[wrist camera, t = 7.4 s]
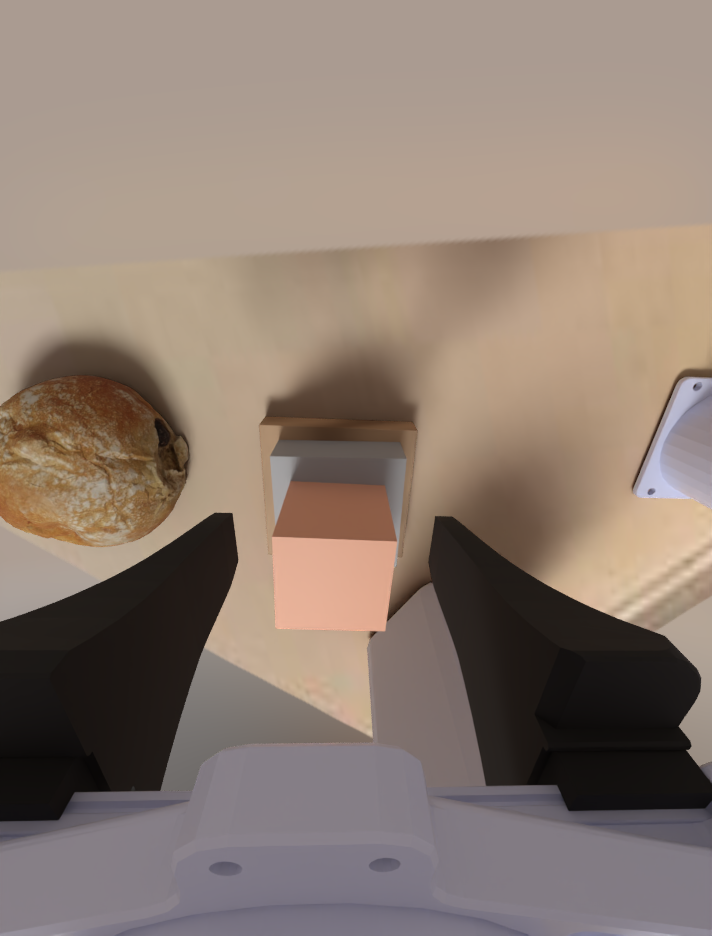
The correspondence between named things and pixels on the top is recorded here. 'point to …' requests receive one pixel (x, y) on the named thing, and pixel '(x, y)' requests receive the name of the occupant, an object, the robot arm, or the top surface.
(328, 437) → the walnut slab
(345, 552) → the terracotta cube
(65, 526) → the bread roll
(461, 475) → the top surface
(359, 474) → the grey slab
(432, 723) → the soap bottle
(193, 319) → the top surface
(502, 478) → the top surface
